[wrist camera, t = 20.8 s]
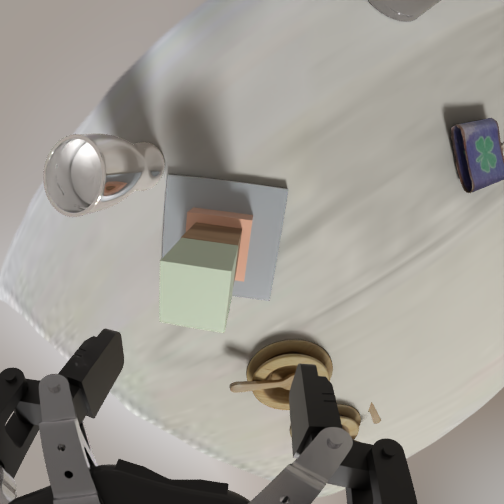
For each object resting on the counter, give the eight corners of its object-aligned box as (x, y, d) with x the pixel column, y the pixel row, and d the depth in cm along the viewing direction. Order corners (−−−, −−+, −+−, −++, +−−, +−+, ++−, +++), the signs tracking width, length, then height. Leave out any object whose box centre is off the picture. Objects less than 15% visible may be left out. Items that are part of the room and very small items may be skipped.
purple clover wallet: (459, 124, 26) (503, 116, 26) (446, 125, 29) (490, 116, 28) (474, 195, 29) (514, 177, 28) (460, 192, 32) (502, 175, 31)
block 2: (181, 237, 25) (160, 260, 20) (238, 245, 25) (231, 271, 20) (179, 288, 27) (159, 321, 21) (231, 297, 27) (224, 333, 21)
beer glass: (171, 190, 34) (113, 214, 20) (121, 197, 34) (48, 224, 20) (165, 134, 32) (103, 121, 18) (115, 144, 32) (37, 144, 18)
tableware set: (381, 419, 47) (388, 441, 41) (292, 453, 50) (293, 475, 45) (330, 312, 39) (340, 336, 34) (211, 365, 43) (205, 391, 37)
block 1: (195, 222, 31) (181, 236, 25) (242, 228, 31) (237, 244, 25) (192, 265, 33) (178, 288, 27) (236, 272, 33) (231, 296, 27)
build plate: (170, 174, 33) (159, 176, 30) (287, 188, 33) (290, 192, 30) (163, 281, 38) (154, 294, 34) (269, 297, 38) (270, 312, 34)
